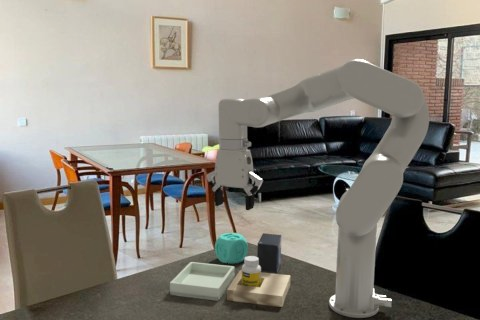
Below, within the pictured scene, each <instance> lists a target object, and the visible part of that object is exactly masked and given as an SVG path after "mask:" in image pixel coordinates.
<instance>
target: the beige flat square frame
mask: <svg viewBox="0 0 480 320" xmlns="http://www.w3.org/2000/svg"><path fill="white" fill-rule="evenodd" d="M290 287H291V275H290V274H279V273H278V274H272V273H263V272H261V287H252V286H244V285H242V269H240V270H239V271H238V273H237V274H236V276H235V278H234V279H233V281H232V282H231V284H230V285H229V287H228V288H227V290H226V301H231V302H239V303H246V304H248V303H249V304H254V305H262V306H269V307H270V306H271V307H279V308H280V307H281V308H282V307H283V306H284V304H285V301H286V299H287V295H288V294H289V293H288V292H289V290H290Z"/></svg>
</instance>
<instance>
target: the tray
mask: <svg viewBox="0 0 480 320" xmlns="http://www.w3.org/2000/svg"><path fill="white" fill-rule="evenodd" d="M235 268H236V267H235V266H233V265H224V264H215V263H206V262H204V263H203V262H194V261H190V262H188V264H186V266H185V267H183V269H182V270H181V271H179V273H178V274H177V275H176V276H175V277H174V278H173V279H172V280H171V281H170V282H169V295H170V296H175V297H177V296H178V297H185V298H192V299H201V300H208V301H209V300H211V301H218V302H219V301H220V300H221V299H222V297H223V295H224V294H225V292H227V289H228V287H229V286H230V284H231V283H232V281H233V280H234V279H235V277H236V276H235V275H236V272H235Z"/></svg>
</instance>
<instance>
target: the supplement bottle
mask: <svg viewBox="0 0 480 320" xmlns="http://www.w3.org/2000/svg"><path fill="white" fill-rule="evenodd" d="M243 262H244V263H243V264H242V267H241V270H242V285H244V286H252V287H261V267H260V265H258V264H259V258H258V257H257V255H246V257H245V258H244V260H243Z"/></svg>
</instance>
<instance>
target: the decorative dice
mask: <svg viewBox="0 0 480 320" xmlns="http://www.w3.org/2000/svg"><path fill="white" fill-rule="evenodd" d="M248 244H249V243H248V242H247V239H246V238H245V237H244V235H242V234H241V233H238V232H226V233H222V234H220V235H219V236H218V237H217V239H216V241H215V244H214V252H215V256H216V257H217V259H218V260H219V261H220V263H223V264H227V263H228V265H229V264H230V265H234V264H235V263H236V264H239V263H241V262H244V258H245V257H247V256H248V252H249V246H248Z"/></svg>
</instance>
